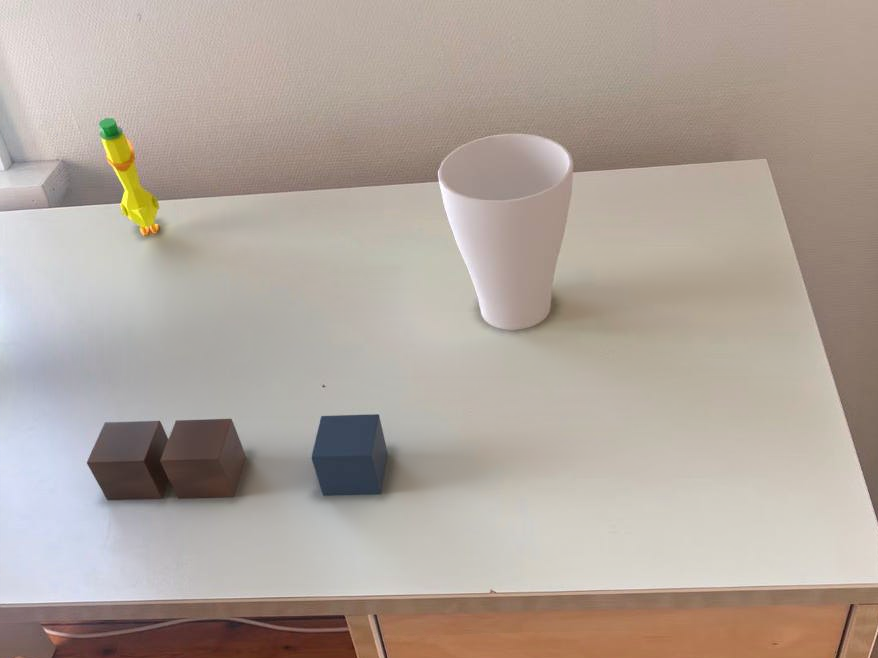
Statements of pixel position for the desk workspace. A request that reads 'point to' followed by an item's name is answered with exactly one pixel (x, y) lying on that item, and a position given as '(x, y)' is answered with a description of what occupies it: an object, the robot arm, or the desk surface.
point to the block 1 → (130, 460)
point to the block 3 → (350, 455)
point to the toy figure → (128, 177)
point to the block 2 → (204, 458)
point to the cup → (509, 221)
